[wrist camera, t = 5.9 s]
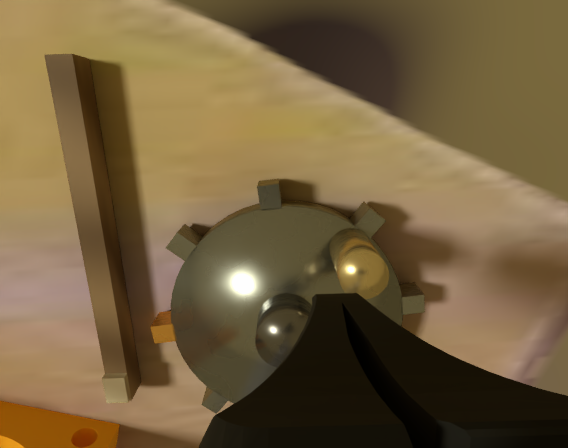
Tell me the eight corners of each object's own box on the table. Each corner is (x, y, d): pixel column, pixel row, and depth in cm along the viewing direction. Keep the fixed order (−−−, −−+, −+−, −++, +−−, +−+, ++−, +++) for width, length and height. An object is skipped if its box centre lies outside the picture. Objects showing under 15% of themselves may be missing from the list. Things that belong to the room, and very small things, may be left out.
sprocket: (306, 448, 24) (312, 532, 19) (110, 326, 21) (60, 387, 17) (468, 284, 21) (524, 335, 16) (260, 120, 18) (252, 121, 13)
